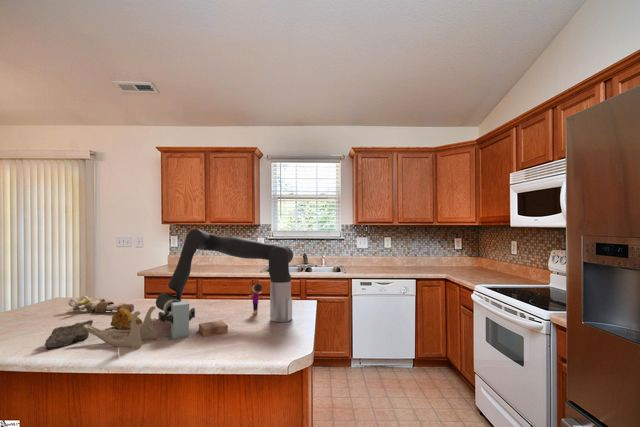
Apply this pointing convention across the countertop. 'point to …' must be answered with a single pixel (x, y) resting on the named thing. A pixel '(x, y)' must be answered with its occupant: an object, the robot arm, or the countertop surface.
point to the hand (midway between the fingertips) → (181, 319)
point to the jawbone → (127, 332)
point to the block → (180, 319)
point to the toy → (256, 297)
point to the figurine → (100, 307)
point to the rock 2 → (123, 319)
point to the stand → (213, 328)
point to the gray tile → (178, 337)
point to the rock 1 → (68, 334)
